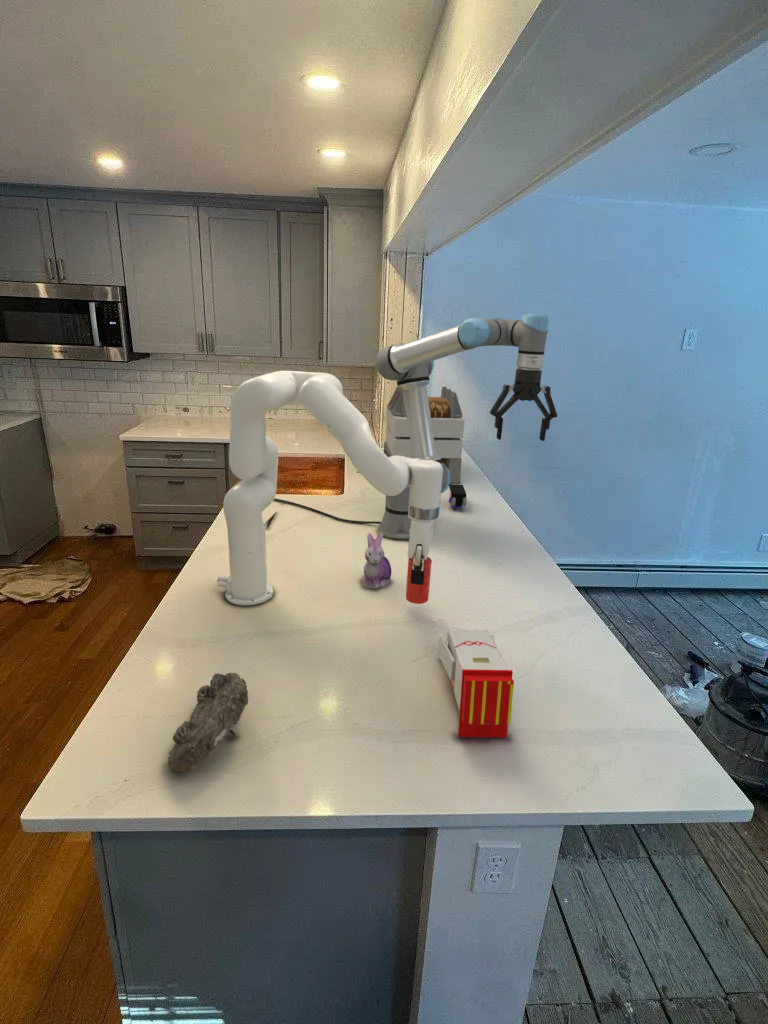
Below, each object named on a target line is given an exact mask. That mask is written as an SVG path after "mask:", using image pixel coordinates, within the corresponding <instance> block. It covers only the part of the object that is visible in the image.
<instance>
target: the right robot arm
mask: <svg viewBox="0 0 768 1024" xmlns="http://www.w3.org/2000/svg"><path fill="white" fill-rule="evenodd" d="M548 333H549V316H548V315H547V314H546V313H527V312H526V313H523V314H522V317H521V319H507V318H480V317H473V318H467V319H465V320H464V321H463V322H462V323H461V324H458V325H456V326H452V327H451V328H447V329H443V330H442V331H437V332H436V333H433V334H430V335H427V336H424V337H422V338H418V339H416V340H413V341H409V342H407V343H400V342H398V343H394V344H391V345H387V346H384V347H383V348H381V349H380V350H379V351H378V353H377V355H376V357H375V368H376V370H377V372H378V374H379V375H380V376H381V377H382V378H384V379H385V380H388V381H396V388H397V387H398V388H399V389H401V390H402V392H403V398H404V404H405V411H406V417H407V423H408V430H409V436H410V443H411V449H412V455H413V458H412V459H416V460H432V461H436V462H439V463H440V464H441V465H442V467H443V476H442V487H441V495H442V494H444V493H445V492H446V491H447V489H448V488H449V484H451V483H450V479H451V476H450V472H449V469H448V468H447V467H446V465H445V464H443V463H442V459H441V457H440V456H438V455H437V454H436V448H435V441H434V435H433V428H432V422H431V415H430V408H429V402H428V397H429V396H428V395H429V394H428V389H427V387H428V385H429V383H430V382H431V380H430V376H431V375H432V373H433V370H434V368H435V367H434V366H435V362H434V361H436V360H440V359H443V358H446V357H449V356H452V355H455V354H459V353H462V352H466V351H470V350H473V349H476V348H480V347H494V346H495V347H496V346H497V347H498V346H504V347H505V346H506V347H516V348H517V347H518V351H517V358H516V359H517V360H516V369H515V376H514V383H513V385H509V384H508V383H505V384H503V386H502V390H501V392H500V394H499V396H498V397H497V399H496V401H495V402H494V403H493V406H492V407H491V409H490V411H489V415H491V416H493V417H494V428H495V429H497V430H496V436H495V438H496V439H497V440H500V441H501V440H502V433H503V424H504V417H503V416H504V415H505V413H506V412H508V410H509V409H511V407H512V406H514V404H515V403H517V402H518V401H522V402H524V401H528V402H532V401H533V402H534V403H535V405H536V407H538V409H539V411H540V413H542V415H543V416H544V417H541V424H540V431H539V438H538V439H539V440H540V441H541V442H544V441H546V434H547V431H548V430H550V427H551V420H552V419H555V418H558V413H557V410H556V406H555V404H554V400H553V397H552V395H551V386H550V385H549V386H548V385H544V386H541V382H542V374H543V371H542V370H541V369H543V367H544V360H545V359H544V358H545V351H546V344H547V338H548ZM511 391H512V392H513V394H512V395H511V396H510V398H509V399H508V400H507V401H506V402H505V403H504V401H505V400H506V398H507V396H508V394H509V393H510V392H511ZM540 392H541V393H542V394H543V397H544V399H545V402H546V404H547V407H548V409H547V408H546V407H545V405H544V404H543V402H542V400H541V399H540V397H539V396H538V395H539V394H540ZM503 403H504V404H503ZM502 404H503V405H502ZM409 494H410V487H409V486H406V487H405V489H404V490H403V491H402V492H401V493H400V494H398V495H395V496H387V495H385V504H384V505H385V507H384V508H385V509H384V513H383V515H382V519H381V521H368V520H367V521H365V520H353V519H346V518H342V517H338V516H336V515H332V514H329V513H327V512H324V511H321V510H318V509H317V508H313V507H311V506H307V505H303V504H300V503H297V502H293V501H289V500H284V499H280V498H276V497H275V498H274V500H273V501H276V502H279V503H284V504H290V505H293V506H296V507H300V508H304V509H306V510H310V511H312V512H316V513H318V514H321V515H324V516H326V517H329V518H332V519H335V520H338V521H341V522H345V523H351V524H352V523H353V524H366V525H367V524H369V525H371V524H373V525H378V533H381V532H382V533H383V538H384V537H385V538H387V539H389V540H395V541H409V537H410V528H411V521H412V519H410V518H409V517H408V508H409Z"/></svg>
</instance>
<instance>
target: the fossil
mask: <svg viewBox="0 0 768 1024" xmlns="http://www.w3.org/2000/svg"><path fill="white" fill-rule="evenodd" d="M247 688H248V686H247V682H246V680H245V679H244V678H242V677H240V674H237V672H229V673H228V672H226V673H225V674H222V673H219V672H218V673H214V674H213V675H212V678H211V679H210V681H209V684H206V685H203V686H200V687H199V688H198V690H197V693H196V694H197V695H196V702H197V703H196V705H195V706H194V708H193V712H191V715H190V717H189V719H190V720H189V721H188V720H185V721H183V722H182V724H181V725H179V726H178V727H177V728H176V730H175V732H174V734H173V735H172V741H173V742H174V743H175V744H174V745H173V747H172V748H171V750H169V752H168V757H167V760H168V761H167V765H168V767H169V769H170V770H173V771H175V773H180V772H181V773H182V772H184V771H190V770H191V771H194V770H196V769H197V768H198V767H199V766H200V765H201V764H202V763H203V762H204V761H205V760H207V758H208V757H209V756H210V755H211V754H212V753H213V752H214V751H215V750H216V749H217V748H218V747H220V745H221V744H222V742H223V739H225V738H226V737H227V736H228V734H231V735H232V736H233V737H235V736H237V735H236V732H235V731H233V729H232V727H233V726H234V725H237V723H239V721H240V720H241V717H242V715H243V713H244V711H245V707H246V706H247V705H248V703H249V696H248V695H249V691H248V690H247Z"/></svg>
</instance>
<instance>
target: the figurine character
mask: <svg viewBox="0 0 768 1024" xmlns="http://www.w3.org/2000/svg"><path fill="white" fill-rule="evenodd" d="M448 488H449V491H450V492H449V494H448V502H449V505H450V507H452V509H453V511H456V509H460V511H463V507H464V508H465V507H467V503H468V498H467V492H466V489H465V487H464V484H457V483H450V484H449V487H448Z"/></svg>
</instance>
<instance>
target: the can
mask: <svg viewBox="0 0 768 1024" xmlns="http://www.w3.org/2000/svg"><path fill="white" fill-rule="evenodd" d="M413 556H414V555H413ZM415 556H416V555H415ZM421 558H423V556H421ZM432 562H433V560H432V558H431V557H429V556H428V557H427V559H426V560H425V561H424V570H425V572H424V583H423V585H417V584H411V569H412V566H413V557H412V558H408V559H407V573H406V574H407V575H406V586H405V587H406V588H405V600H406V601H407V602H408V603H411V604H415V605H422V604H425V603H427V602H428V601H429V597H430V587H431V586H430V583H431V572H432ZM420 563H421V564H422V561H421V560H420Z"/></svg>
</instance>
